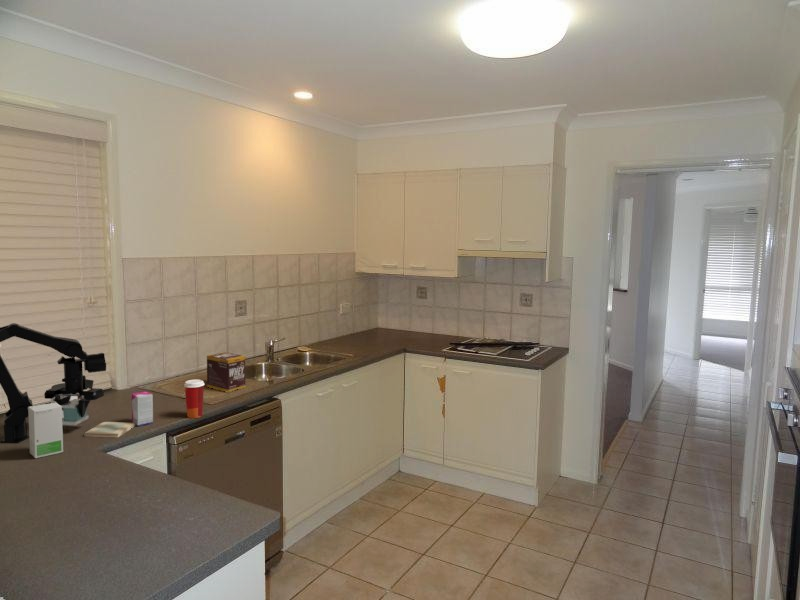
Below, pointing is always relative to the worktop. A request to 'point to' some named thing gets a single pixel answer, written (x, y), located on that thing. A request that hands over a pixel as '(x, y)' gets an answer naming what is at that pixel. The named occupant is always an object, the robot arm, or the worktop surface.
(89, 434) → the birch stand
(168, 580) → the worktop surface
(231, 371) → the supplement box
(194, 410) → the paper cup
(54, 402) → the jar
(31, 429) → the skincare box
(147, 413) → the supplement box
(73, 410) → the housing
